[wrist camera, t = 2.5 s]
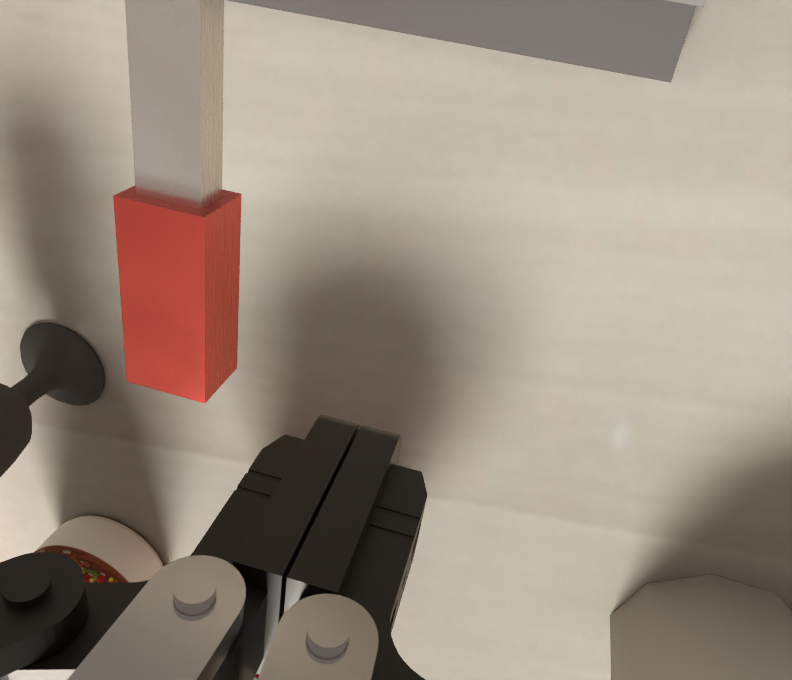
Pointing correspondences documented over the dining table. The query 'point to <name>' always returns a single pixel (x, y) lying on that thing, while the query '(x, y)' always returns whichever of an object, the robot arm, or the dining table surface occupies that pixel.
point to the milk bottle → (104, 550)
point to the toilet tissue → (701, 632)
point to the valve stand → (531, 27)
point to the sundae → (46, 383)
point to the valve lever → (178, 204)
